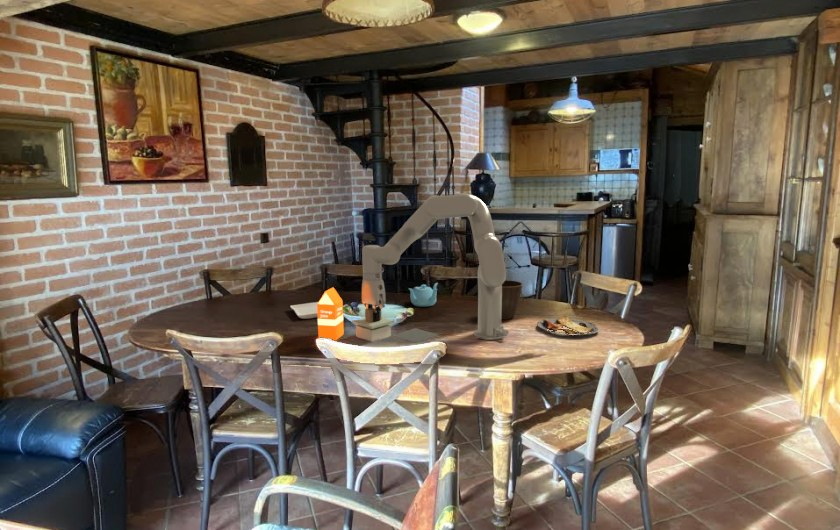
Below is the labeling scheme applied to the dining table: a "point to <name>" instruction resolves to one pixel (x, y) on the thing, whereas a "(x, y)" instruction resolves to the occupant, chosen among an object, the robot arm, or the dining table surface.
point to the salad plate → (306, 310)
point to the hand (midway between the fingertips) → (373, 320)
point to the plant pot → (510, 298)
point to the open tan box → (373, 333)
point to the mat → (415, 335)
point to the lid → (369, 320)
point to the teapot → (423, 295)
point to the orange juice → (330, 315)
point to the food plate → (569, 323)
